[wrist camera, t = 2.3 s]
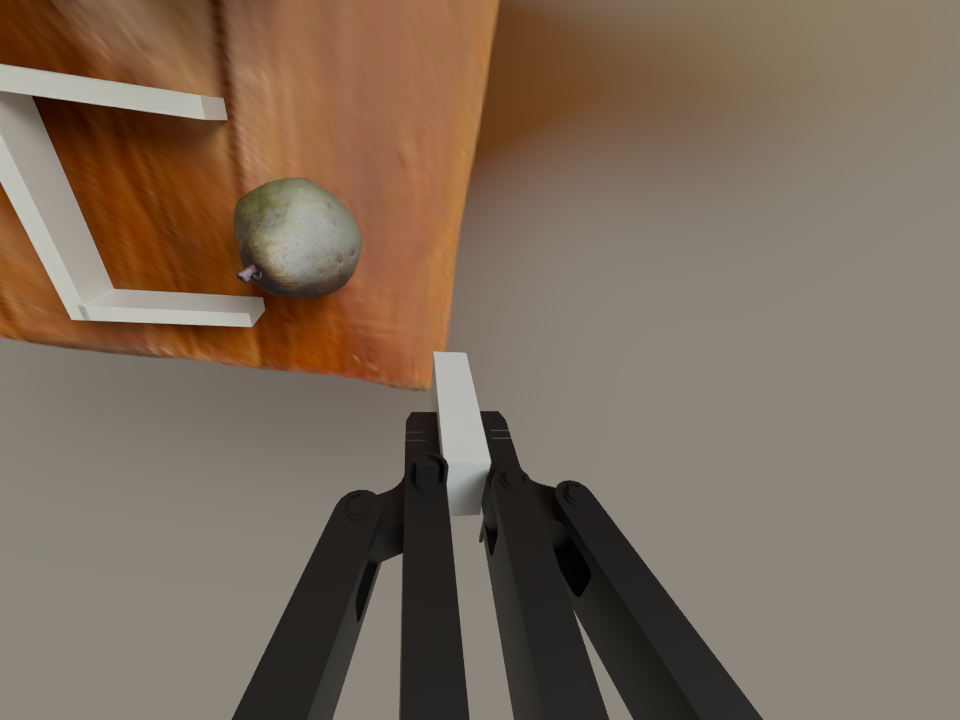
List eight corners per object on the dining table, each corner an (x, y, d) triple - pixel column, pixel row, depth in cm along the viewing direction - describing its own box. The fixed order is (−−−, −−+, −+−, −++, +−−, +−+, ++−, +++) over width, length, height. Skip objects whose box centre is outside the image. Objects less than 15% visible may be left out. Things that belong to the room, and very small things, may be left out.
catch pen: (102, 301, 37) (71, 319, 33) (-6, 62, 27) (-66, 54, 23) (265, 310, 40) (251, 327, 36) (223, 98, 30) (199, 95, 26)
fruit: (236, 216, 34) (165, 255, 24) (300, 144, 32) (251, 154, 22) (325, 291, 40) (297, 348, 30) (386, 234, 37) (378, 274, 27)
